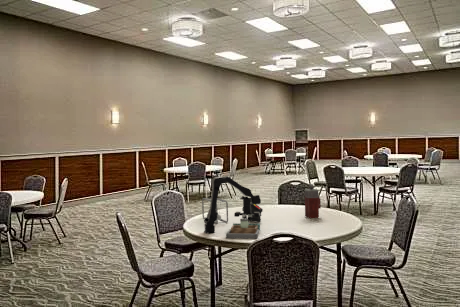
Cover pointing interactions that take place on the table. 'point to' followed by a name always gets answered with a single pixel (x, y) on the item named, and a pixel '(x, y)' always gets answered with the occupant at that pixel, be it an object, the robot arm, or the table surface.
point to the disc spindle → (244, 223)
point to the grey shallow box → (242, 235)
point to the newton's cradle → (216, 209)
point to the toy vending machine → (312, 202)
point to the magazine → (255, 209)
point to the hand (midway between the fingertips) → (247, 225)
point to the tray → (245, 229)
